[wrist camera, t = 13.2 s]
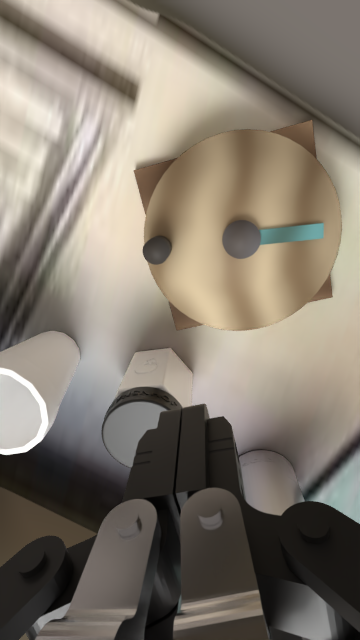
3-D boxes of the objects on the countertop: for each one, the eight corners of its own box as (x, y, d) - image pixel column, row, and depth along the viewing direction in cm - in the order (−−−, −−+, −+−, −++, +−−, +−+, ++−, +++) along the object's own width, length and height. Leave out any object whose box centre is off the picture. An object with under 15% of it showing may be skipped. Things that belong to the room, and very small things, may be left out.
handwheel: (339, 119, 30) (361, 104, 26) (332, 318, 36) (350, 332, 32) (133, 147, 32) (123, 138, 28) (159, 332, 38) (153, 348, 34)
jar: (188, 343, 42) (183, 394, 30) (197, 400, 44) (196, 467, 33) (117, 352, 42) (87, 404, 31) (130, 407, 45) (107, 475, 34)
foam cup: (32, 306, 41) (-40, 348, 29) (102, 337, 42) (61, 391, 30) (11, 368, 44) (-62, 430, 32) (77, 397, 45) (30, 468, 33)
